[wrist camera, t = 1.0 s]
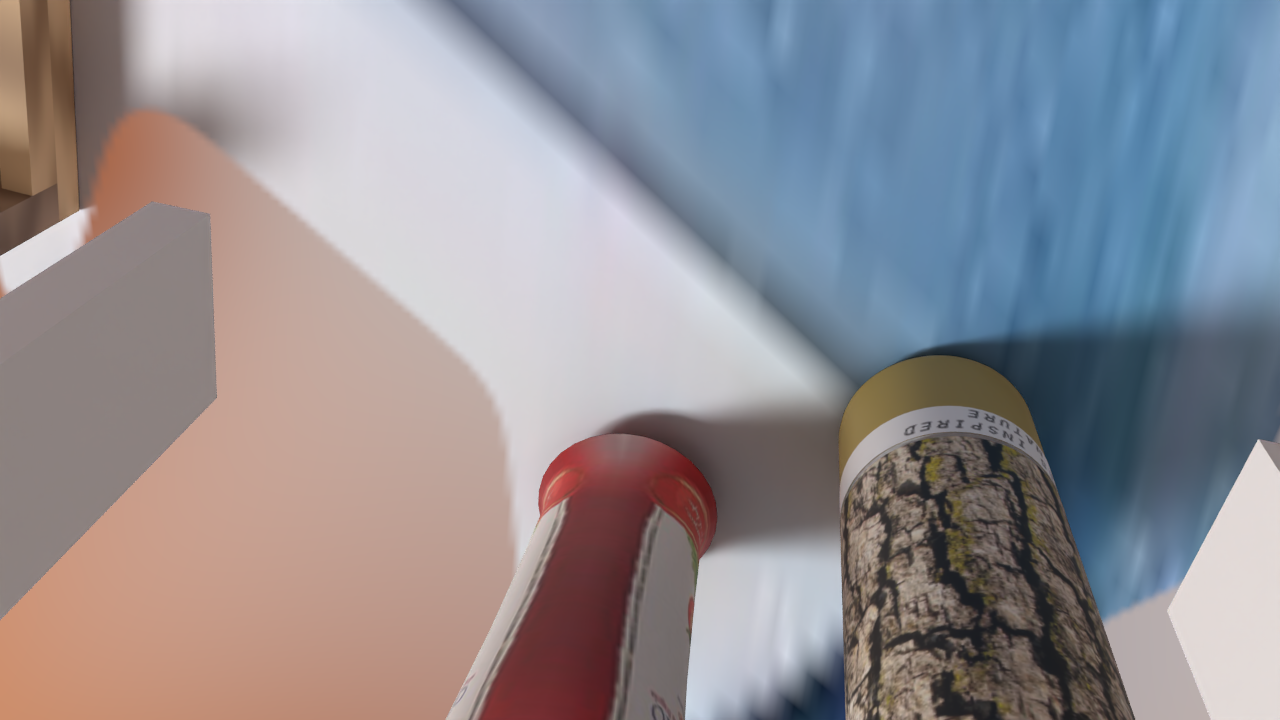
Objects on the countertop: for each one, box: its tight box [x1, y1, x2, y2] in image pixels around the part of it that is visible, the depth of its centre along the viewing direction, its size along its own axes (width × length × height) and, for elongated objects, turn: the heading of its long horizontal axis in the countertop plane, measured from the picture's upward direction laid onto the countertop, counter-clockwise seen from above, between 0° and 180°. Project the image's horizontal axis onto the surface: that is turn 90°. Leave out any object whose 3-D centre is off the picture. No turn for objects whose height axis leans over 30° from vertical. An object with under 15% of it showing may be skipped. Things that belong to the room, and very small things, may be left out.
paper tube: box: [838, 355, 1135, 720], centre depth 29 cm, size 7×7×25 cm
